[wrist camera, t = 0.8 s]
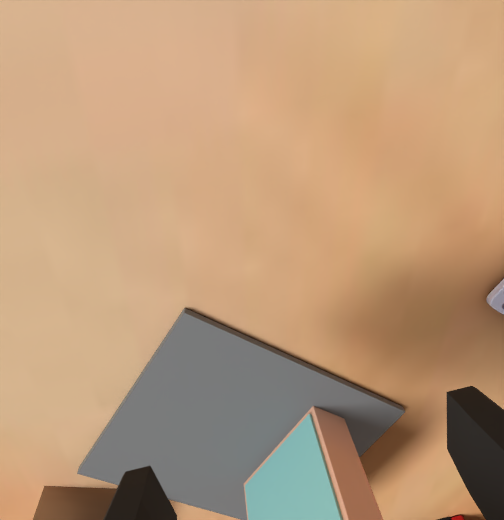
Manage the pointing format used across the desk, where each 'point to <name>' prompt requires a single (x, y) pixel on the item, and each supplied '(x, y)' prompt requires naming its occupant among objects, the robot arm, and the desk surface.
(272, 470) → the block
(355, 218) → the desk surface
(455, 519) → the handheld gaming console
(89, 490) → the walnut cube
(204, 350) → the mat
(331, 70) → the desk surface
